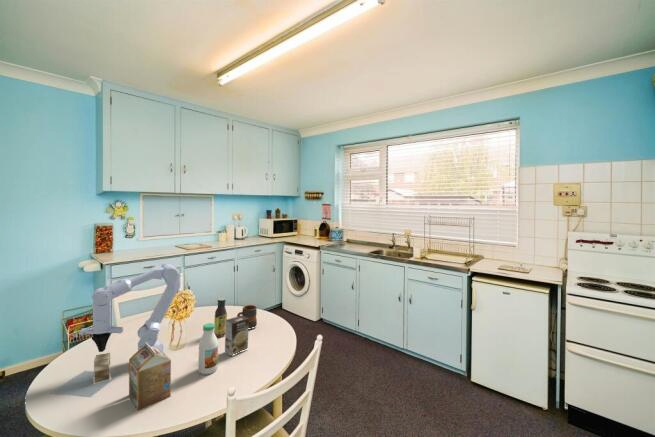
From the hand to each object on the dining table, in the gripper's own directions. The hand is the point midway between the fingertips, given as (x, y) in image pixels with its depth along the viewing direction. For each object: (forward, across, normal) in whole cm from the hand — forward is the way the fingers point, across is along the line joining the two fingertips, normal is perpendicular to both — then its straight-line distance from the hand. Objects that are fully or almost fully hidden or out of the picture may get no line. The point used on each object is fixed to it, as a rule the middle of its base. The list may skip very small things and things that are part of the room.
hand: (102, 350), depth 119 cm
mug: (+11, -55, -39) cm, 68 cm away
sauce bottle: (+11, -41, -32) cm, 53 cm away
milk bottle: (+11, -41, +2) cm, 43 cm away
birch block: (+5, -2, +3) cm, 6 cm away
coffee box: (+11, -52, -13) cm, 54 cm away
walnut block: (+10, -1, +3) cm, 10 cm away
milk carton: (+11, -24, +16) cm, 31 cm away
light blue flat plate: (+10, +2, +6) cm, 12 cm away
